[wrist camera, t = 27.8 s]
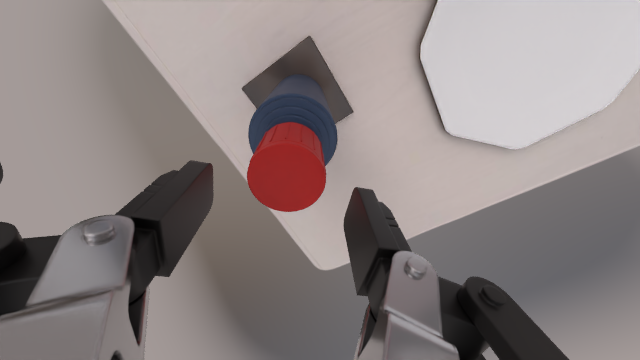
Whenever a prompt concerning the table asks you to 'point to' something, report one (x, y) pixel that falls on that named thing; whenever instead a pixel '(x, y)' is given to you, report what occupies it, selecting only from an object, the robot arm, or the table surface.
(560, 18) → the plate
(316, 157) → the cap
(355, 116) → the table surface
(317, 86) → the bottle
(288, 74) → the coaster
